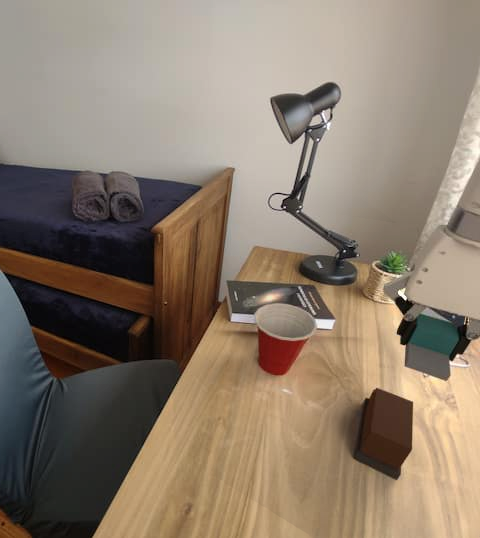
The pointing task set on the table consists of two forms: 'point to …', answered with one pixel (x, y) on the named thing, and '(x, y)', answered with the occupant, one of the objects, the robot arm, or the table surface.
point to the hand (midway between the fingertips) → (425, 345)
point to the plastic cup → (281, 335)
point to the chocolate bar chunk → (385, 432)
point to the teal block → (431, 346)
